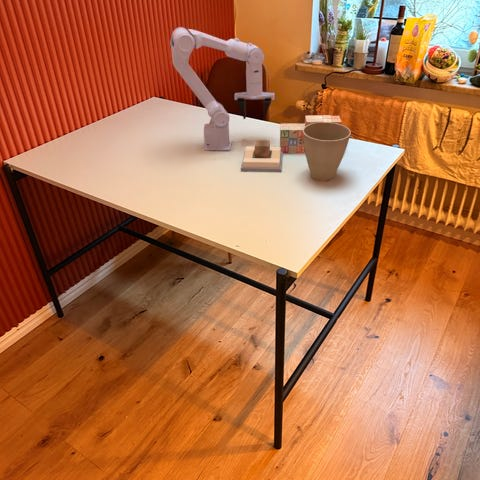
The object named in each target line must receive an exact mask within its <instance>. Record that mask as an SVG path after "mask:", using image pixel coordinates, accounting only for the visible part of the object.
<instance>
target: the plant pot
mask: <svg viewBox="0 0 480 480" xmlns="http://www.w3.org/2000/svg"><path fill="white" fill-rule="evenodd" d="M350 137H351V130H350V128H348V127H347V126H346V125H343V124H342V123H341V124H337V123H331V122H317V123H312V124H309V125H307V126H306V127H304V129H303V139H304V148H305V153H304V155H305V158H306V163H307V166H308V169H309V172H310V176H311V177H312V178H313V179H314V180H316V181H321V182H324V181H325V182H326V181H330V180H332V179H333V178H334V176H335V175H336V173H337V171H338V169H339V167H340V165H341V162H342V161H343V158H344V156H345V153H346V150H347V147H348V144H349V140H350Z"/></svg>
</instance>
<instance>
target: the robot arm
mask: <svg viewBox="0 0 480 480" xmlns="http://www.w3.org/2000/svg"><path fill="white" fill-rule="evenodd" d="M169 44H170V48H171V49H170V50H171V59H172V65H173V67H174V69H175V70H176V71H177V73H179V76H180V77H181V78H182V79H183V81H184V82H185V83H186V85H187V86H188V87H189V89H190V90H191V91H192V93H194V95H195V96H196V97H197V98H198V100H199V101H200V103H201V104H202V106H203V107H204V108H205V110H206V111H207V114H208V115H207V116H209V117H210V121H209V122H208V123H204V126H203V139H204V151H230V150H231V147H232V142H233V141H232V140H230V125H229V124H230V123H229V122H230V115H229V113H228V111H227V110H226V109H225V108H224V106H223V104H222V103H220V102H218V101H217V100H216V99H215V98H214V96H213V95H212V94H211V92H210V91H209V90H208V88H207V87H206V85H205V84H204V83H203V82H202V80H201V79H200V78H199V76H198V74H197V73H196V72H195V71H194V69H193V68H192V67H191V65H190V64H189V61H190V56H191V54H192V52H193V50H194V49H199V48H201V47H203V46H204V47H208V48H212V49H216V50H218V51H223V52H224V53H225V56H227V57H229V58H232V59H235V60H239V61H242V62H245V64H246V66H245V67H246V69H245V77H246V79H245V80H246V81H245V82H246V85H245V86H246V91H244V92H243V91H242V92H235V93H234V100H235V101H237V105H238V106H239V109H240V111H241V114H242V117H243V120H246V117H247V112H246V100H264V101H263V106H264V107H263V108H264V112H263V120H267V119H266V118H267V114H268V111H269V107H270V106H271V104H272V101H274V100H275V92H266V91H263V63H264V61H265V57H266V56H265V55H264V54H265V53H264V52H263V50H262V49H261V48H260V47H259V46H257V45H255V44H253V43H251V42H247V43H246V42H243V41H240V39H239V38H237V37H234V38H230V39H228V40H225V39H221V38H218V37H216V36H214V35H210V34H208V33H205V32H201V31H200V30H195V29H190V28H188V29H187V28H185V27H182V26H180V27H179V26H178V27H177V28H175V29H174V30H173V31H172V33H171V38H170V42H169Z"/></svg>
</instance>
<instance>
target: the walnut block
mask: <svg viewBox="0 0 480 480" xmlns="http://www.w3.org/2000/svg"><path fill="white" fill-rule="evenodd" d="M254 147H255V158H270V147H271V141H270V140H269V139H268V140H265V139H262V140H261V139H255V142H254Z"/></svg>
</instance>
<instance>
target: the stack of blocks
mask: <svg viewBox="0 0 480 480" xmlns="http://www.w3.org/2000/svg"><path fill="white" fill-rule="evenodd" d="M341 119H342V118H341V116H340V115H330V114H329V115H328V114H326V115H325V114H324V115H319V114H318V115H305V117H304V123H280V127H279V129H280V130H279V147H281V151H283V154H305V148H304V139H303V129H304V127H306V126H307V125H309V124H312V123H317V122H331V123H337V124H341V125H342V120H341Z"/></svg>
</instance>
